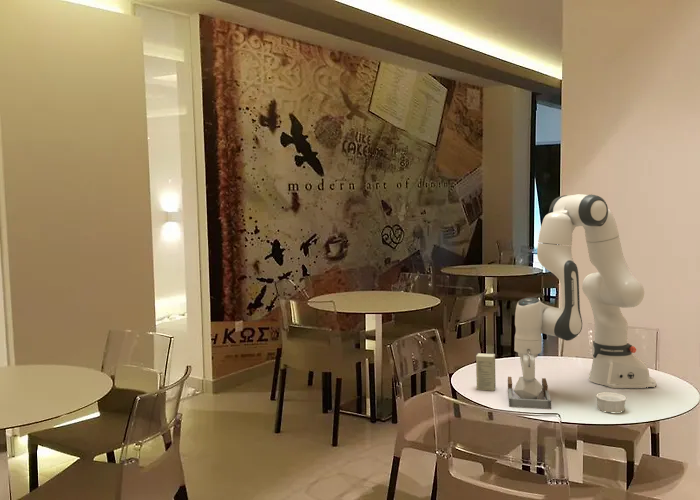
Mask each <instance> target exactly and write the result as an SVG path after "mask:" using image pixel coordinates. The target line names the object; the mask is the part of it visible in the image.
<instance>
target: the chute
mask: <svg viewBox="0 0 700 500" xmlns="http://www.w3.org/2000/svg"><path fill="white" fill-rule="evenodd" d="M541 385H542V386H543V388H542V390H541V392H542V395H543V397H544V398H545V390H548V389H549V388H548V387H549V385H548V382H547V379H546V378H545V377H544V378H543V377H541ZM508 388H510V389H511V390H512V391H513V379H512V376H507V389H508ZM548 391H549V390H548Z"/></svg>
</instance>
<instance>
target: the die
mask: <svg viewBox="0 0 700 500" xmlns="http://www.w3.org/2000/svg"><path fill="white" fill-rule="evenodd" d="M542 388H543V386H542V383H540V382H539V381H538V380H537V379H536V378H535V380H534V381H525V380H524V379H523V376H519V377H518V379H517V382H516V384H515V387H514V388H513V392H514V393H515V394H516V395H517V396H518V398H519V399H538V398H539V396H540V394H541V392H542ZM538 400H539V399H538Z"/></svg>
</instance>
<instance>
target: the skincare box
mask: <svg viewBox="0 0 700 500" xmlns="http://www.w3.org/2000/svg"><path fill="white" fill-rule="evenodd" d="M475 361H476V362H475V367H476V369H475V370H476V372H475V373H476V375H475V376H476V390H477V391H478V390H479V391H490V392H493V391H495V389H496V383H497V382H496V354H495V353H479V352H478V353H476V355H475Z"/></svg>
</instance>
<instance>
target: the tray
mask: <svg viewBox="0 0 700 500" xmlns="http://www.w3.org/2000/svg"><path fill="white" fill-rule="evenodd" d="M507 392H508V393H507V394H508V395H507V396H508V398H507V399H508V406H509V407H511V408H512V407H513V408H514V407H516V408H531V409H547V410H549V409H550V410H551V409H552V399H551V396H550V393H549V390H545V397H544V399H521V398H520V397H518V398H516V397H515V398H513V389H512V390H511V389H510V388H508V387H507Z"/></svg>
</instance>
